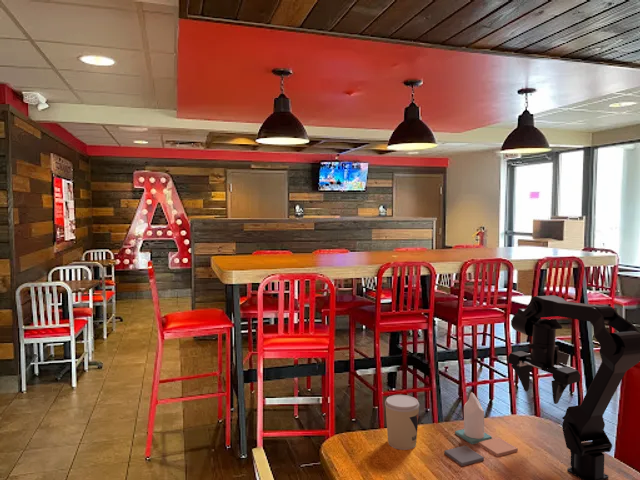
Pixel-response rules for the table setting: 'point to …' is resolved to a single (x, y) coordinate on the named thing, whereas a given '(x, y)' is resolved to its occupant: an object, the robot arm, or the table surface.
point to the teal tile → (472, 440)
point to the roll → (473, 418)
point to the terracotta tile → (498, 446)
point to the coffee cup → (402, 421)
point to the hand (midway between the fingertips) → (540, 397)
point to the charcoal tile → (464, 455)
